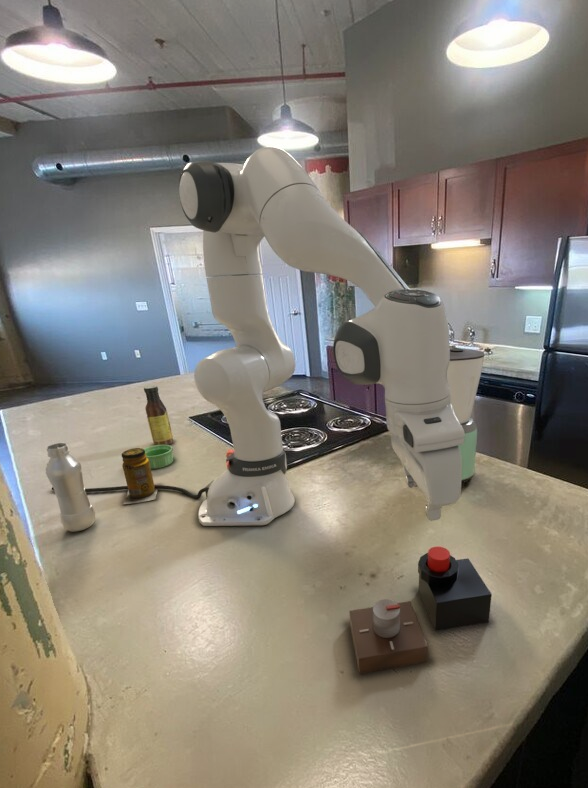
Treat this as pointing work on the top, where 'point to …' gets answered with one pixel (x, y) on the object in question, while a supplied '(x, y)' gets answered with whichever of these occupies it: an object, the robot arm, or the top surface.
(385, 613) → the knob
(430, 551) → the button
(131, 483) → the condiment
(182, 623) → the top surface
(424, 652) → the timer panel
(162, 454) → the ramekin
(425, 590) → the black button base
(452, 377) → the green blender
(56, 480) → the plastic bottle
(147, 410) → the sauce bottle
